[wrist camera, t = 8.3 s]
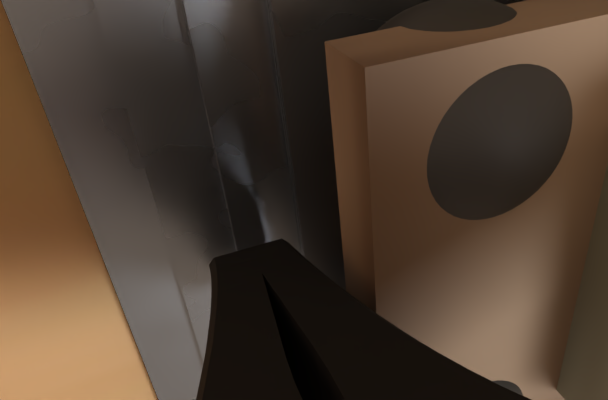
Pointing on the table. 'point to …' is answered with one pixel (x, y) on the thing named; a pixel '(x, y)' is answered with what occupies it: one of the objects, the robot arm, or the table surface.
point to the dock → (193, 143)
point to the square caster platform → (481, 185)
